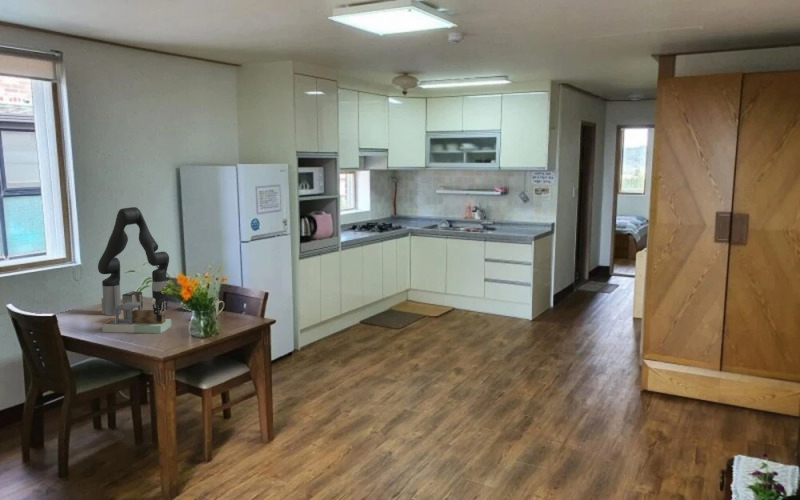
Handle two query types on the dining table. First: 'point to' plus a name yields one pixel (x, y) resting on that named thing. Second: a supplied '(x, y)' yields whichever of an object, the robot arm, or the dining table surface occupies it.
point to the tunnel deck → (129, 325)
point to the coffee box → (132, 300)
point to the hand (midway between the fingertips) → (160, 319)
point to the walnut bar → (147, 316)
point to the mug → (218, 305)
